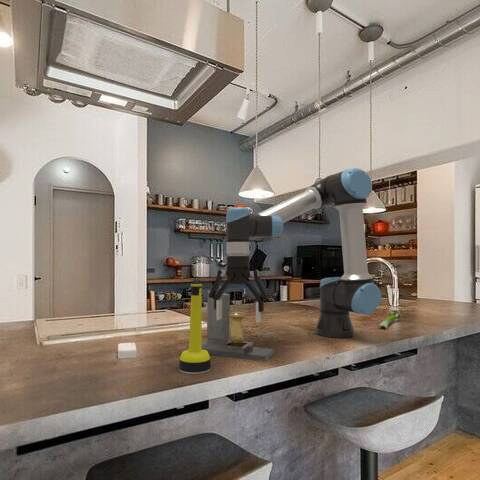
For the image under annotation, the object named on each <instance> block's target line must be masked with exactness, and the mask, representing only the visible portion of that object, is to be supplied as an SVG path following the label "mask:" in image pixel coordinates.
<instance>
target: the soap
mask: <svg viewBox="0 0 480 480" xmlns="http://www.w3.org/2000/svg"><path fill="white" fill-rule="evenodd" d="M137 351H138V350H137V346H136V343H135V342H121V343H118V344H117V359H118V360H123V359H124V360H126V359H135V358H137V353H138V352H137Z"/></svg>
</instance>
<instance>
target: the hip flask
mask: <svg viewBox="0 0 480 480" xmlns="http://www.w3.org/2000/svg"><path fill="white" fill-rule="evenodd" d="M212 287H213V285H212V286H211V288H212ZM221 287H222V286H221V285H219V288H218V290H217V292H218V291H219V290H220V288H221ZM210 291H211V290H207V307H206V308H207V309H206V311H207V312H206V315H207V316H206V318H207V319H206V337H207V338H208V339H211V338H217V339H226V340H230V324H231V317H230V316H229V313H230V311H231V310H230V309H231V306H230V305H231V304H230V303H231V294H229V293H225V292H224V293H223V295H222V296H221V297H220V299H222V319H221V320H217V310H215V309H214V299H213V298H209V293H210ZM217 292H216V294H217ZM216 294H215V295H216Z"/></svg>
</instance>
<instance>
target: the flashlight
mask: <svg viewBox="0 0 480 480" xmlns="http://www.w3.org/2000/svg"><path fill="white" fill-rule="evenodd" d="M190 287H191V290H190V291H191V294H190V295H191V296H190V317H189V333H188V334H189V337H188V338H189V340H188V349H186V350H183V351H182V353H181V354H180V356H179V361H178V371H179V372H180V373H183V374H188V375H197V374H198V375H199V374H205V372H206V373H208V372H211V370H212V363H211V355H210V354H209V353H208V351H206V350H202V343H203V342H202V339H203V337H202V332H203V331H202V327H203V326H202V325H203V324H202V321H203V317H202V314H203V312H202V309H203V307H202V303H203V302H202V301H203V298H202V295H203V294H202V289H203V288H202V287H203V283H202V281H201V280H200V279H199V278H194V279H192V282H191V283H190Z"/></svg>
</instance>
